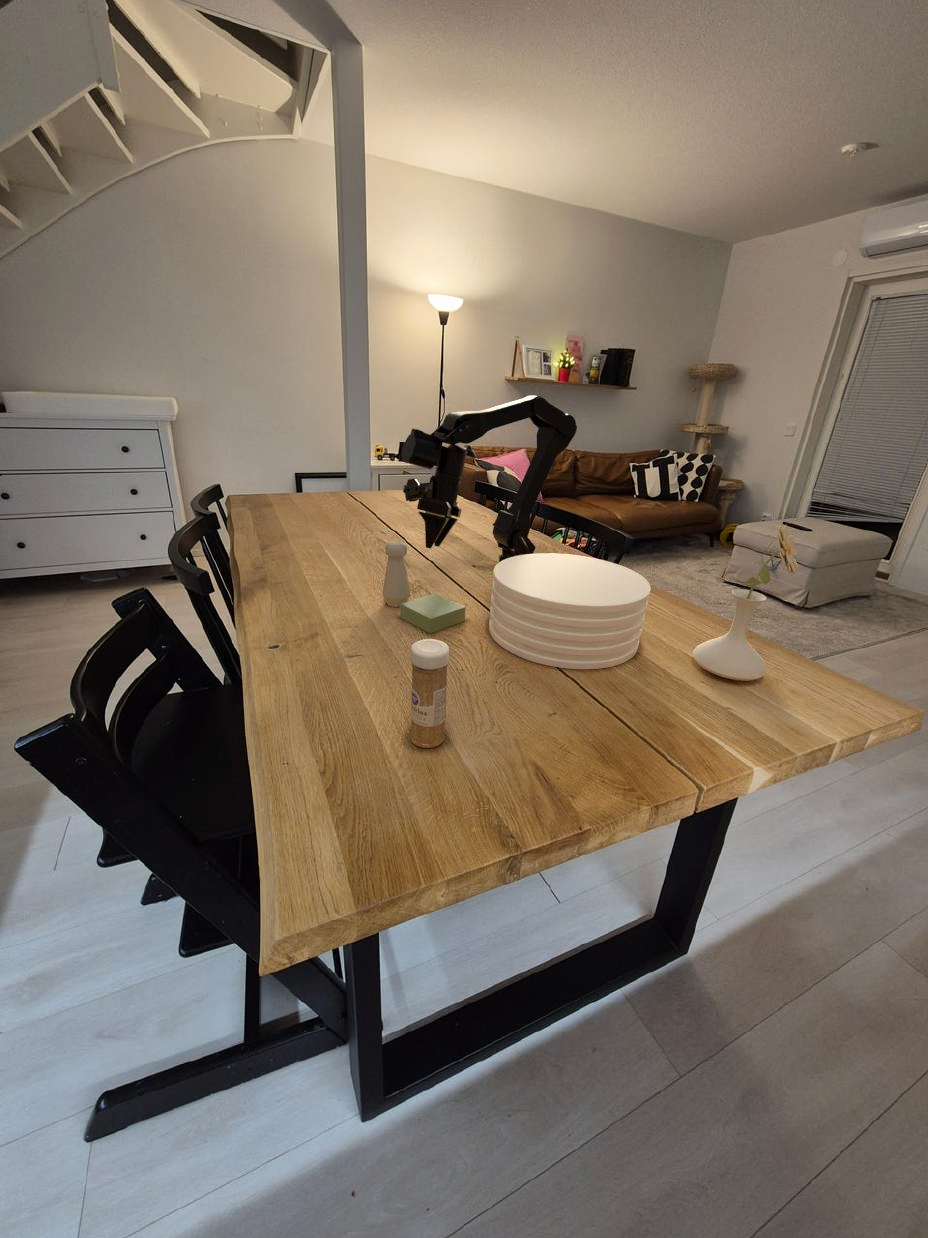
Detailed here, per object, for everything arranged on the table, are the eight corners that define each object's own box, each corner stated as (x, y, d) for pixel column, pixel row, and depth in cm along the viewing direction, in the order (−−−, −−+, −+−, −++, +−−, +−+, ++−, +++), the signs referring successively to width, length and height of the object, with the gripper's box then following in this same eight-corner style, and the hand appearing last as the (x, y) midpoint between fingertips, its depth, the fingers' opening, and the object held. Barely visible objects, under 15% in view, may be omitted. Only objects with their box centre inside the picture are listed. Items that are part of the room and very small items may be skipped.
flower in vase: (733, 693, 79) (784, 538, 68) (676, 660, 88) (712, 519, 77) (784, 677, 84) (837, 531, 74) (725, 647, 93) (765, 514, 83)
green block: (434, 606, 104) (435, 593, 103) (464, 621, 98) (465, 607, 97) (400, 617, 98) (400, 603, 97) (430, 633, 93) (430, 618, 91)
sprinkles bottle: (402, 738, 64) (402, 645, 59) (427, 723, 68) (429, 634, 62) (428, 755, 62) (430, 659, 56) (452, 738, 65) (457, 646, 59)
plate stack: (646, 622, 102) (658, 568, 98) (625, 686, 79) (639, 620, 74) (517, 594, 113) (522, 545, 108) (464, 644, 89) (468, 584, 85)
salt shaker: (413, 599, 107) (413, 540, 102) (407, 610, 102) (407, 548, 96) (386, 597, 107) (385, 538, 102) (379, 607, 102) (378, 545, 97)
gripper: (421, 470, 116) (408, 537, 119) (400, 460, 98) (385, 539, 101) (468, 481, 115) (453, 548, 118) (455, 473, 97) (438, 552, 100)
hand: (432, 547), depth 109 cm, fingers open, 9 cm apart
